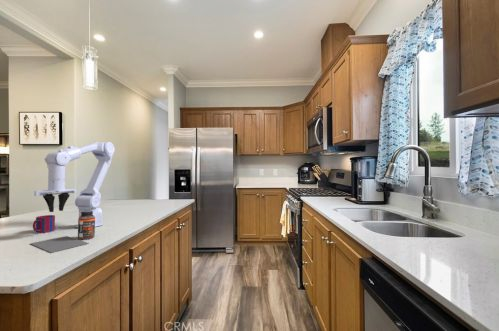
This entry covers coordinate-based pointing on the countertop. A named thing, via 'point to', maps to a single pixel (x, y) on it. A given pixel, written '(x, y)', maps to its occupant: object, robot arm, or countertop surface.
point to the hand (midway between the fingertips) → (56, 211)
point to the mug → (44, 224)
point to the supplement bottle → (86, 225)
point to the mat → (58, 244)
